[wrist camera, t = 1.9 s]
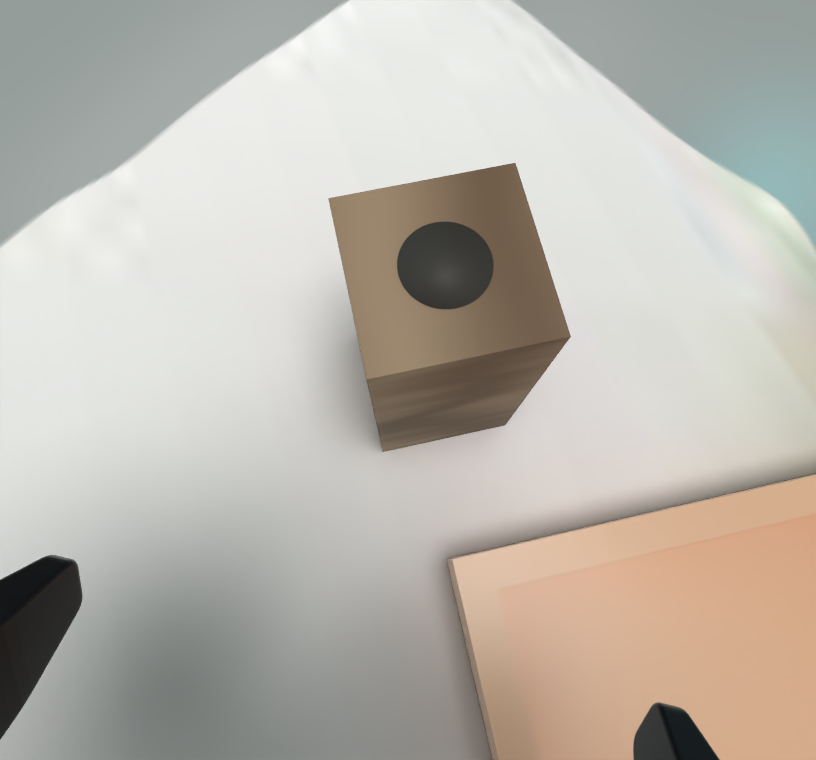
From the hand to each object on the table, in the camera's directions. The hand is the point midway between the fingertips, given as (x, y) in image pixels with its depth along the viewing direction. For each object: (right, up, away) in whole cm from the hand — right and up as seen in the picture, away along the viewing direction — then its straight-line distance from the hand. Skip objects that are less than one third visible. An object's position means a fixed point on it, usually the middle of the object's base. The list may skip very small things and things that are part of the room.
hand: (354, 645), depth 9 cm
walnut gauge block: (+2, +4, +15) cm, 16 cm away
